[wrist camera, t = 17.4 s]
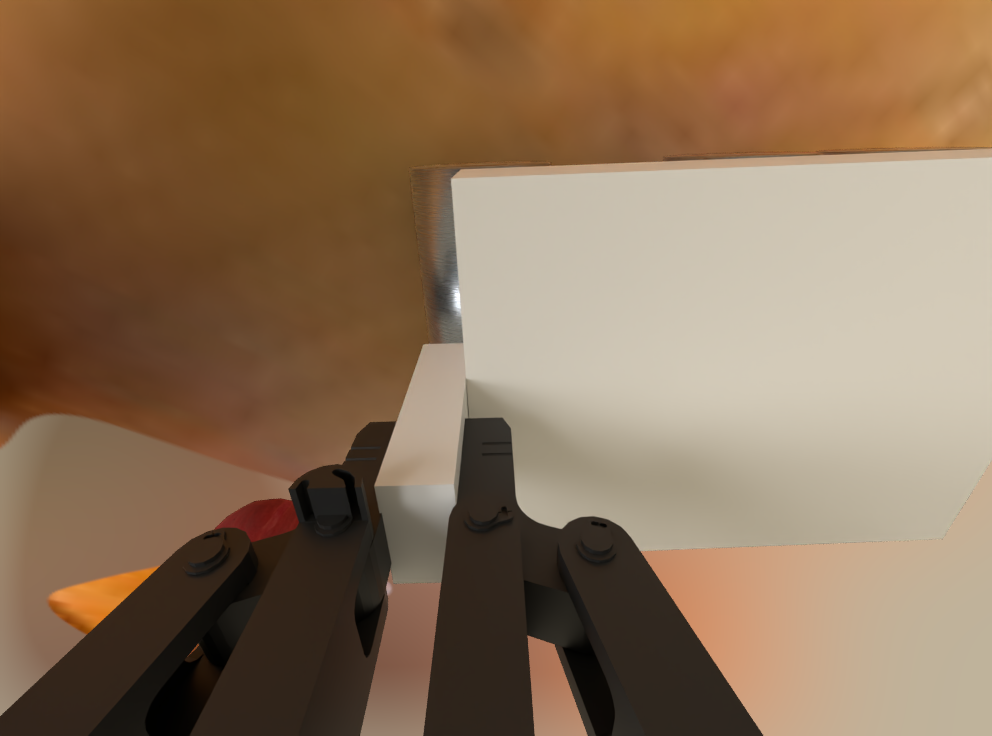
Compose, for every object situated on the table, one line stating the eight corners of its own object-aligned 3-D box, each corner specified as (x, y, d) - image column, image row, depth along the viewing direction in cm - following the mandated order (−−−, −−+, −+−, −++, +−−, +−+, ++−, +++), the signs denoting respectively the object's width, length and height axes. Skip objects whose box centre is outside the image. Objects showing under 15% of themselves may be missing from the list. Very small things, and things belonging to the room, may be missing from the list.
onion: (226, 476, 25) (119, 611, 17) (323, 461, 24) (254, 592, 17) (268, 546, 27) (190, 688, 20) (356, 533, 27) (309, 673, 20)
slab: (481, 477, 18) (479, 557, 15) (460, 169, 13) (451, 178, 9) (854, 463, 18) (942, 539, 15) (994, 148, 13) (1186, 149, 9)
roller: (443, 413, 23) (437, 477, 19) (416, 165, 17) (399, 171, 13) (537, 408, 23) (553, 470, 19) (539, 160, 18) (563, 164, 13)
